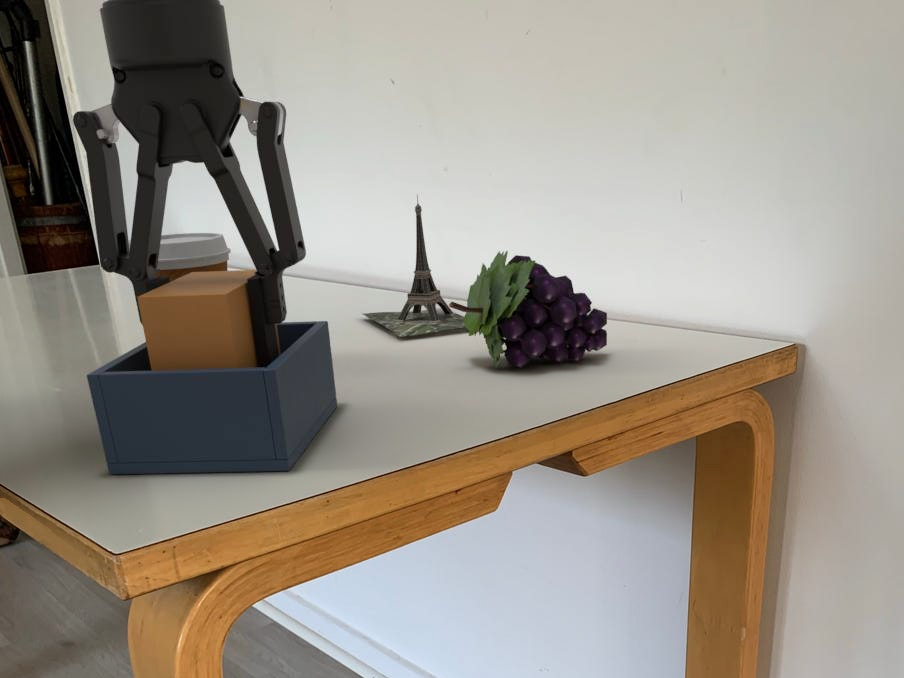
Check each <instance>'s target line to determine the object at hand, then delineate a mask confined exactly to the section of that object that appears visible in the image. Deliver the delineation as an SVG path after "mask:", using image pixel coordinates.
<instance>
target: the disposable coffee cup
mask: <svg viewBox="0 0 904 678" xmlns="http://www.w3.org/2000/svg"><path fill="white" fill-rule="evenodd" d="M128 241H129V250H130V243H131V239H128ZM230 253H232V250H231V248H230V247H228V245H227V242H226V240H225V237H224V235H223V234H221V233H218V232H217V233H216V232H187V233H186V232H185V233H184V232H183V233H171V234H161V242H160V250H159V258H158V266H157V269H159V268H160V272H159V273H158V274H156V278H158V277H169V279H170V282H171V281H174V280H176V279H178V278H180V277H182V276H185V275H187V274H189V273H191V272H211V271H228V261H229V260H230V257H229V256H230Z"/></svg>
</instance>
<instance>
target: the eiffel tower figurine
mask: <svg viewBox="0 0 904 678" xmlns="http://www.w3.org/2000/svg"><path fill="white" fill-rule="evenodd" d="M416 200H417V203H416V206H414V212H415V222H416V223H415V225H416V227H415V229H416V231H415V232H416V237H415V238H416V239H415V240H416V247H415V248H416V249H415V252H416V253H415V269H414V271H413V273H414V276H413V281H412V285H411V289H410V292H407V299H406V302H405V304H404V305H403V307H402V309H401V311H379V312H377V311H376V312H365V313H362V315H363V316H365V317H366V318H368V319H370V320H371V321H373V322H375V323H377V324H379V325H381V326H383V327H384V328H386V329H388V330H389V331H391V332H392V333H393V334H395V335H396V336H397V337H399V338H403V337H409V336H417V335H424V334H429V333H430V334H431V333H436V332H437V333H438V332H442V331H448V330H455V329H460V328H465V326H464V315H461V314H458V313H456V312H453V310H452V308H451V307H450V306H449V304H447V302H446V301H445V300H444V298H443V297H442V296H441V290H440V289H437V287H436V284H435V282H434V279H433V276H432V273H431V272H432V269H430V266H429V262H428V256H427V250H426V249H427V248H426V241H425V236H424V228H423V221H422V220H423V219H422V211H423V210H422V206H421V205H420V203H419V195H418V194H416ZM437 306H438V307H439V309H437ZM422 307H423V308H425V310H422ZM411 309H412V311H411Z"/></svg>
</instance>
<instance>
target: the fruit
mask: <svg viewBox="0 0 904 678" xmlns="http://www.w3.org/2000/svg"><path fill="white" fill-rule="evenodd" d="M504 252H505V253H504ZM508 252H509V251H508V250H506V251H502V252H500V250H499V251H497V253H496V255H495V256H494V258H493V259H492V262H491V263H490V265H489V266H488V267H487V266H486V264H485V263H484V262H482V265H481V267H480V273H479V274H477V275H476V280H475V281H474V282H473V284H472V285H470V286H469V290H468V296H467V299H466V306H465V305H463V304H460V303H457V302H454V301H451V302H450V303H448V306H449V308H450V309H454V310H456V311H460V312H462V313H465V314H464V315H463V317H464V326H465V327H464V328H465V329H466V330H467V331H468V337H472V336H474V337H476V335H477V334H478V335H479V336H481V334H482V335H483V339H484V341H485V344H486V347H487V349H488V354H489V356H490V358H491V359H492V360H493V364H494V365H493V366H494V368H495V369H497V367H498V365H499V364H500V363H501V355H503V354H504V355H503V356H504V357H505V359H506V361H507V362H508V365H509V366H511V367H515V368H521V369H522V368H523V367H524V366H526V364H527V363H528V362H530V361H531V359H532V358H534V357H535V358H537V359H540V360H544V361H546V360H550V361H553V362H555V363H559V364H561V363H562V362H563V361H564V360H565V359H566V358H567V359H568V360H572V361H582V360H583V357H584V355H585V352H586V351H587V352H588V353H591V351H595V352H597V351H599V350H601V349H603V348H605V347H606V346H607V343H608V333H607V330H606V329H604V327H605V326H606V325H607V324H608V313H607V312H605V311H604V310H600V309H598V308H593V309H592V306H591V305H592V304H593V302H592V301H591V299H590V298H589V296H587V294H586V293H585V292H576V293H575V292H574V286H573V282H572V279H571V278H569V277H568V276H567V275H561V276H554V275H552V274H550V272H549V271H548V270H547V268H546V267H545V266H544V265H543V264H541V263H538V262H536V260H532V258H531V257H530V255H529V256H528V255H514V256H513V257H512V258H511V259H510V260H509V261H508V262H507V258H508ZM506 262H507V263H506ZM504 345H505V348H506V349H504V348H503V346H504Z"/></svg>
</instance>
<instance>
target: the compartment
mask: <svg viewBox="0 0 904 678" xmlns="http://www.w3.org/2000/svg"><path fill="white" fill-rule="evenodd" d="M277 330H278V338H279V345H280V352H281V355H280V356H279V357H278V358H277V359H275V360H274V361H273V362H272V363H271V364H270V365H269V366H268V367H266V368H265V367H258V368H224V369H190V370H156V371H152V369H151V364H150V359H149V354H148V349H147V344H146V341H145V342H143V343H140V344H139V345H137V346H135V347H134V348H132V349H130V350H128V351H127V352H125V353H124V354H121V355H119V356H118V357H116V358H114V359H112V360H111V361H109V362H107V363H106V364H103V365H102V366H101V367H99V368H97V369H95V370H93V371H91V372H89V373H88V374H87V375H86V379H87V383H88V388H89V391H90V396H91V400H92V404H93V410H94V415H95V418H96V422H97V426H98V431H99V435H100V441H101V443H102V448H103V453H104V457H105V461H106V464H107V469H108V473H109V475H147V474H148V475H151V474H152V475H153V474H154V475H155V474H157V475H158V474H199V473H200V474H201V473H204V474H206V473H249V472H250V473H251V472H255V473H256V472H289V471H290V470H291V469H292V468H293V467H294V465H295V463H297V461H298V460H299V458H300V457H301V455H302V454H303V453H304V451H305V450H306V449H307V447H308V446H309V445H310V443H311V442H312V441H313V440H314V438H315V436H316V435H317V434H318V433H319V431H320V429H321V428H322V427H323V426H324V424H325V423H326V422H327V420H328V419H329V418H330V416H331V415H332V414H333V413H334V411H335V410H336V408H337V407H338V399H337V390H336V382H335V372H334V365H333V356H332V348H331V347H332V346H331V339H330V338H331V337H330V330H329V322H328V320H318V321H317V320H315V321H286V322H285V321H283V322H282V323H280V324H277Z"/></svg>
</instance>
